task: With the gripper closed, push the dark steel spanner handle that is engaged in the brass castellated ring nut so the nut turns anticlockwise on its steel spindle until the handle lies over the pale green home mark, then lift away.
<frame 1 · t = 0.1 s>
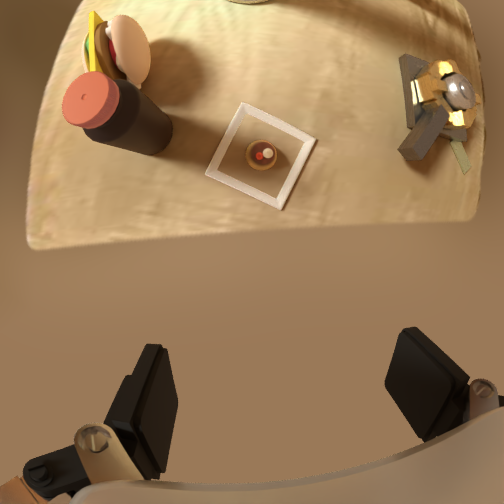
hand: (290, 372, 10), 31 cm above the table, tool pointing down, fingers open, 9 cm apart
bottle: (151, 133, 35), on the table
ring nut: (440, 110, 31), point 6 cm above the table, hinge at -40.0°
hamburger: (132, 67, 32), on the table
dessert: (260, 155, 38), on the table
housing: (432, 100, 36), on the table
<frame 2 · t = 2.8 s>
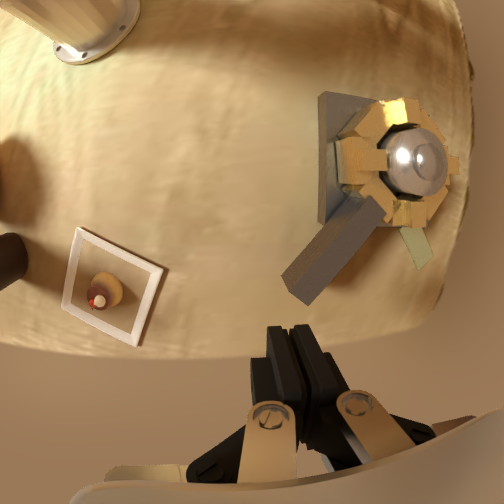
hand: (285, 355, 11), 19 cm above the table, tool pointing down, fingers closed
bottle: (15, 254, 27), on the table
ring nut: (372, 200, 23), point 6 cm above the table, hinge at -40.0°
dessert: (108, 287, 30), on the table
housing: (374, 163, 28), on the table
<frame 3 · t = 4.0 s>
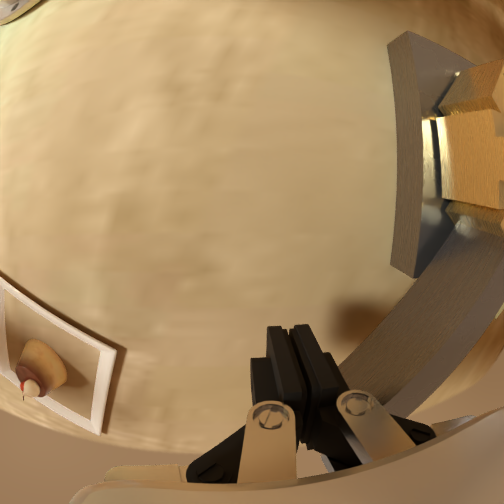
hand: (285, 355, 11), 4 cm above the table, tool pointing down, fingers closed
ring nut: (500, 237, 9), point 6 cm above the table, hinge at -40.0°
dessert: (49, 357, 16), on the table
housing: (469, 164, 14), on the table
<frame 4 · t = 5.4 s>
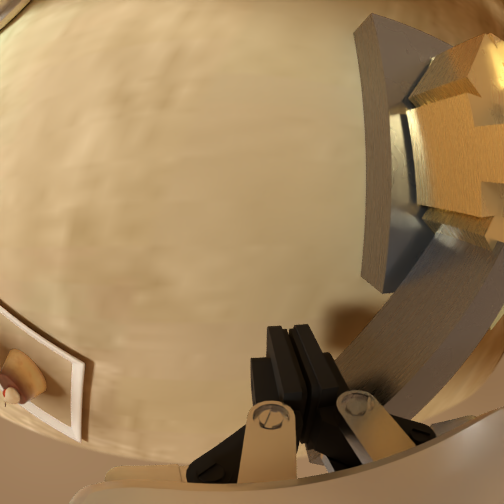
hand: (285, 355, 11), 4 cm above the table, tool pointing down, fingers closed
ring nut: (488, 247, 8), point 6 cm above the table, hinge at -38.2°, touching gripper
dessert: (30, 367, 15), on the table
housing: (456, 161, 13), on the table
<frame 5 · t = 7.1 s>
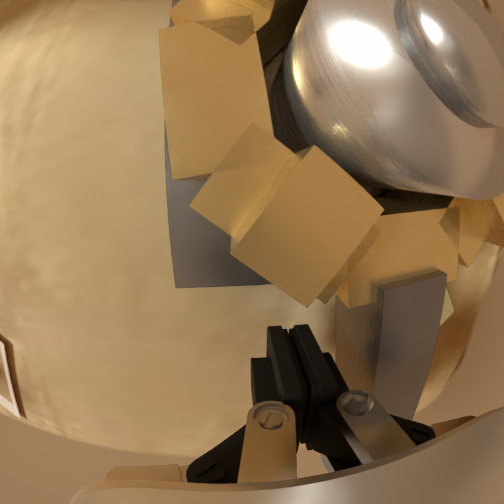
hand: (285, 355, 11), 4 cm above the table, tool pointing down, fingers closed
ring nut: (391, 258, 8), point 6 cm above the table, hinge at 6.1°, touching gripper
housing: (321, 125, 12), on the table
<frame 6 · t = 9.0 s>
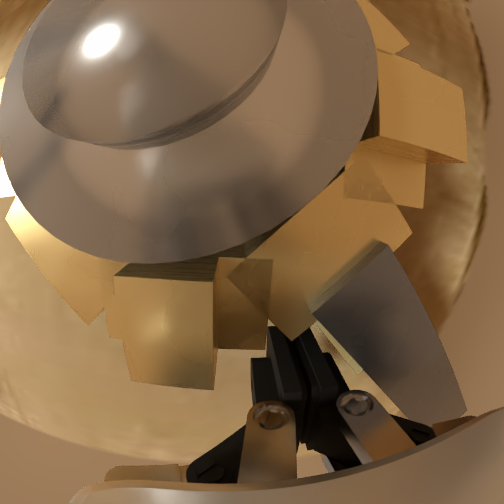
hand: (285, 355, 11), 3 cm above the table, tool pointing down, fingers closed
ring nut: (324, 254, 7), point 6 cm above the table, hinge at 41.4°, touching gripper
housing: (213, 141, 12), on the table
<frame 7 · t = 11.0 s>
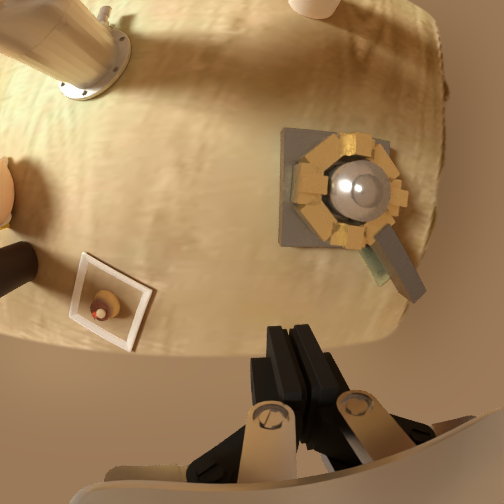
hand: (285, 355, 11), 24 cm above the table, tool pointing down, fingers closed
cylindrical container: (311, 4, 27), on the table
bottle: (26, 260, 34), on the table
ring nut: (375, 227, 29), point 6 cm above the table, hinge at 41.4°
hamburger: (8, 191, 31), on the table
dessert: (108, 301, 36), on the table
housing: (333, 189, 33), on the table
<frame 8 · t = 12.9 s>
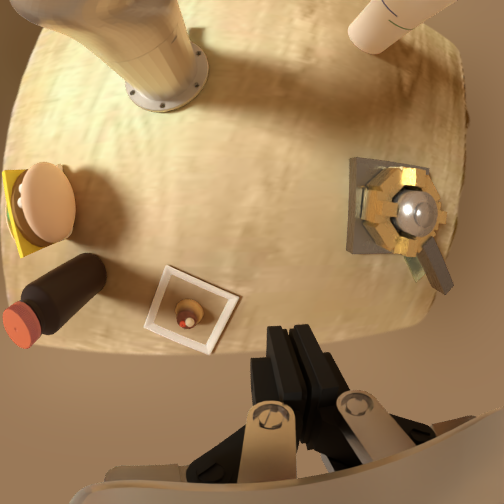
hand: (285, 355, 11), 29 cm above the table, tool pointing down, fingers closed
cylindrical container: (366, 38, 32), on the table
bottle: (90, 271, 39), on the table
ring nut: (421, 238, 35), point 6 cm above the table, hinge at 41.4°
hamburger: (64, 200, 36), on the table
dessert: (189, 310, 42), on the table
housing: (387, 206, 39), on the table
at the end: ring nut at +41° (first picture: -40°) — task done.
